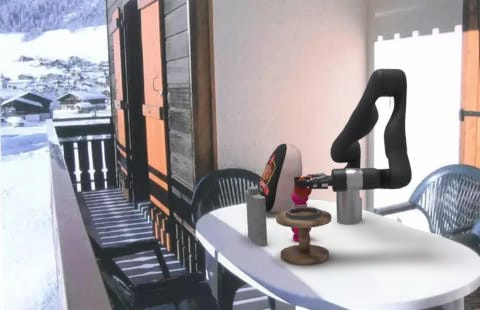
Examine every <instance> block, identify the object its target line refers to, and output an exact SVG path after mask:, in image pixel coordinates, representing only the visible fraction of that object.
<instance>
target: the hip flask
mask: <svg viewBox="0 0 480 310" xmlns="http://www.w3.org/2000/svg"><path fill="white" fill-rule="evenodd" d="M258 187H259V186H258ZM258 187H257V186H250V187H248V188H247V189H246V190H245V201H246V203H245V204H246V221H247V237H248V239H250V240H249V241H251V242H252V243H254V244H255V245H256V246H259V247H260V248H262V247H267V246H268V231H267V230H268V228H267V211H266V204H265V197H263V196H261V195H259V194H258Z"/></svg>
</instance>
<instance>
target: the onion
mask: <svg viewBox="0 0 480 310" xmlns="http://www.w3.org/2000/svg"><path fill="white" fill-rule="evenodd" d="M299 180H306V179H305V178H304V175H302V176H300V179H299ZM306 181H307V180H306ZM312 191H313V189H309V188H307V186H306V187H300V188H296V187H295V185H294V192H295V194H296V195H297V196H298V197H299V198H300V199H301V200H304V199H306V198H307V197H310V195H311V194H312Z"/></svg>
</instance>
